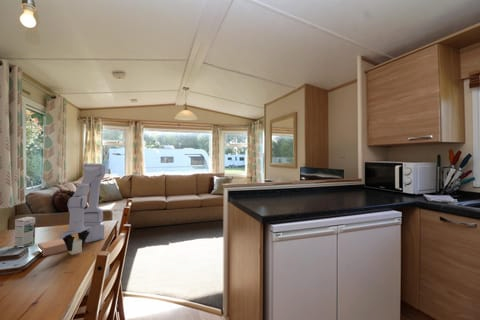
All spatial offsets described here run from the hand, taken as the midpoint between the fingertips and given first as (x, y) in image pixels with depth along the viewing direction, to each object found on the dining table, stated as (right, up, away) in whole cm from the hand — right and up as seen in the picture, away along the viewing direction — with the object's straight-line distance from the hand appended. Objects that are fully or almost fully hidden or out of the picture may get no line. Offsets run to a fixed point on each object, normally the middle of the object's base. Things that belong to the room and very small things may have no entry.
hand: (75, 248), depth 110 cm
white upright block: (0, -2, 0) cm, 2 cm away
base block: (-12, -2, +2) cm, 13 cm away
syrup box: (-32, -2, +7) cm, 33 cm away
